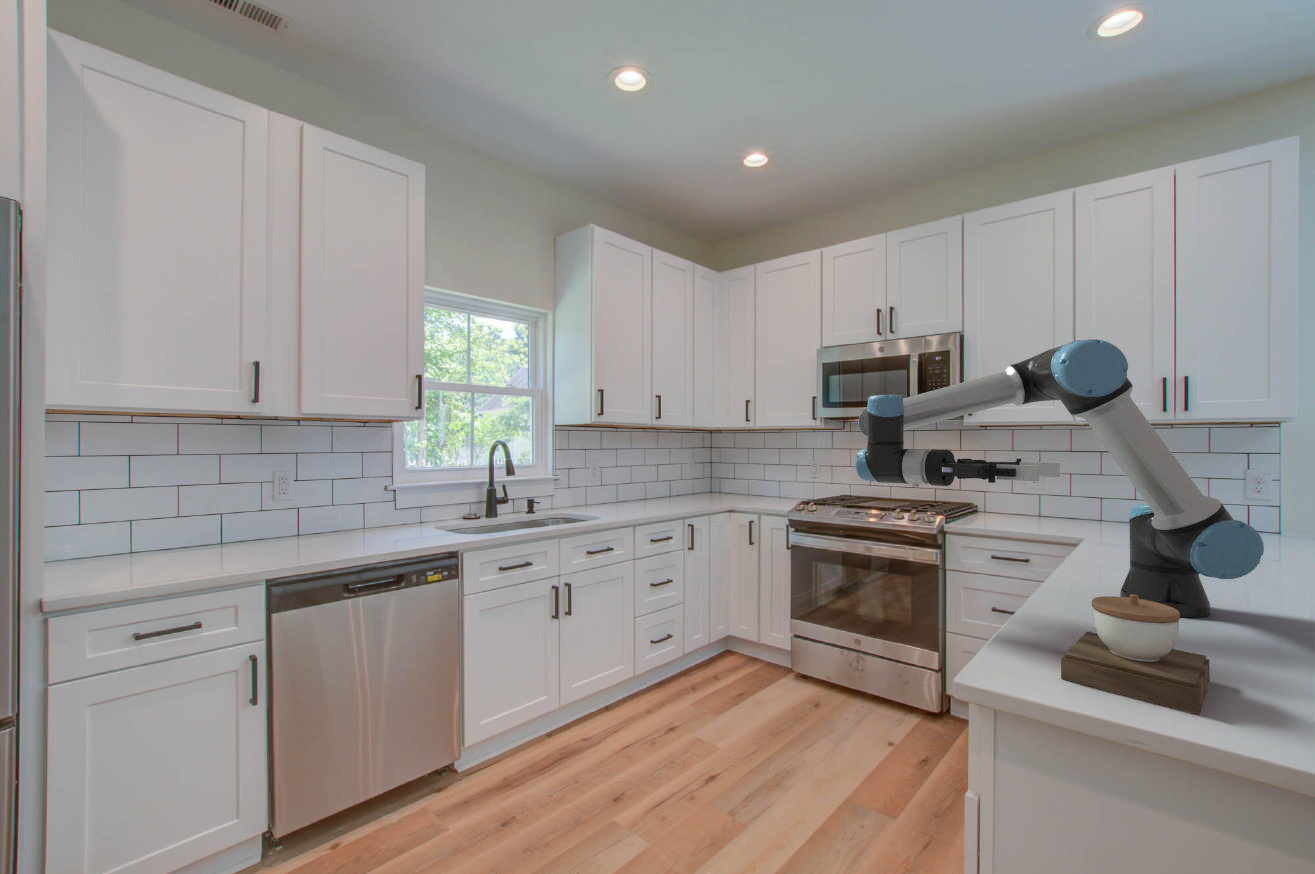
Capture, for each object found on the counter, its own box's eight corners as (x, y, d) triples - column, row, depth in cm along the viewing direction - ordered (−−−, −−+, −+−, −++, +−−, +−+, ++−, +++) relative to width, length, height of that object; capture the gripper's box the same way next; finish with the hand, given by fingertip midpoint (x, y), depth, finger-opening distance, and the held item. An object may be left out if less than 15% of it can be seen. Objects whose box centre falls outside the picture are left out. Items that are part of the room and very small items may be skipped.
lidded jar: (1198, 670, 85) (1198, 606, 85) (1114, 665, 87) (1114, 602, 87) (1151, 644, 95) (1151, 587, 95) (1078, 640, 97) (1078, 584, 97)
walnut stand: (1084, 652, 102) (1084, 630, 102) (1209, 680, 90) (1209, 655, 90) (1061, 678, 91) (1061, 653, 91) (1199, 714, 80) (1199, 685, 80)
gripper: (953, 481, 130) (1066, 487, 114) (903, 489, 113) (1028, 497, 97) (953, 448, 130) (1066, 449, 114) (903, 450, 113) (1028, 452, 97)
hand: (1049, 471), depth 105 cm, fingers open, 13 cm apart
